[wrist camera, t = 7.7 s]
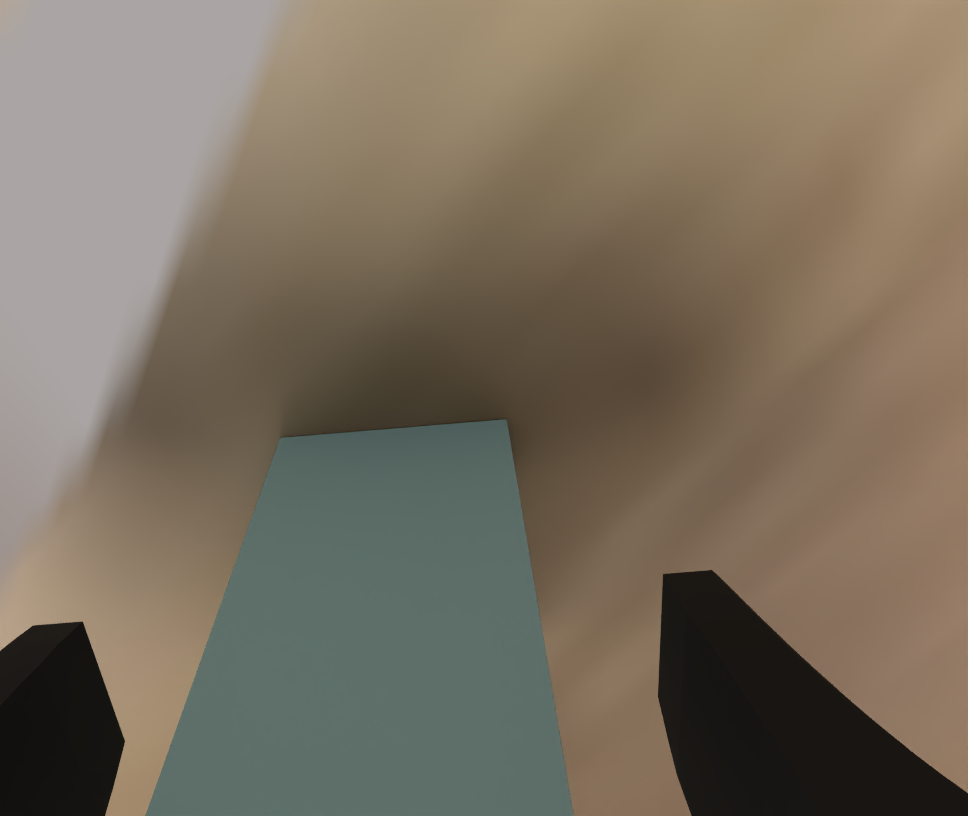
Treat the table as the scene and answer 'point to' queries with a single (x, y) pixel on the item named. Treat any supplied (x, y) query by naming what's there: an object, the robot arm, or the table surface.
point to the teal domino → (376, 642)
